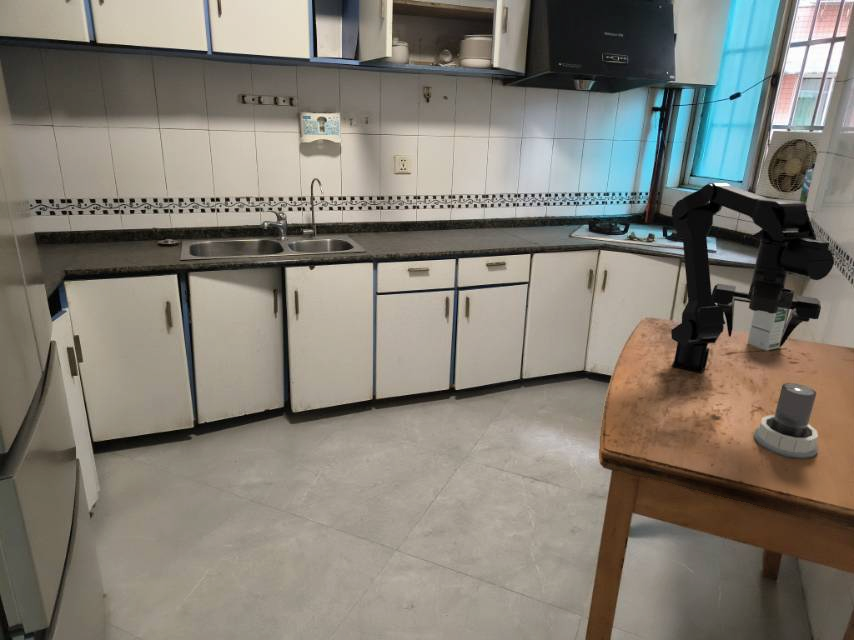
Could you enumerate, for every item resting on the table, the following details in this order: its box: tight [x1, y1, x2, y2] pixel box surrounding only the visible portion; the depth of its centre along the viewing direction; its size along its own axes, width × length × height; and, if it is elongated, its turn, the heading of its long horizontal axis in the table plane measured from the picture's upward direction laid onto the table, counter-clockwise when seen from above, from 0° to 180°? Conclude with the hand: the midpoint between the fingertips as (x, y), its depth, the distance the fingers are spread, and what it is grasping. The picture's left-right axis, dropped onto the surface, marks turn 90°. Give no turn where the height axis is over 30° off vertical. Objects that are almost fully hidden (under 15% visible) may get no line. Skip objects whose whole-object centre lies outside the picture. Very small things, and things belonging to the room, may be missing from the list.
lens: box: [771, 382, 817, 438], centre depth 106 cm, size 5×5×10 cm
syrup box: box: [747, 308, 790, 352], centre depth 151 cm, size 6×6×14 cm
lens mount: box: [753, 414, 819, 459], centre depth 107 cm, size 10×10×3 cm
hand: (754, 340), depth 120 cm, fingers open, 9 cm apart
